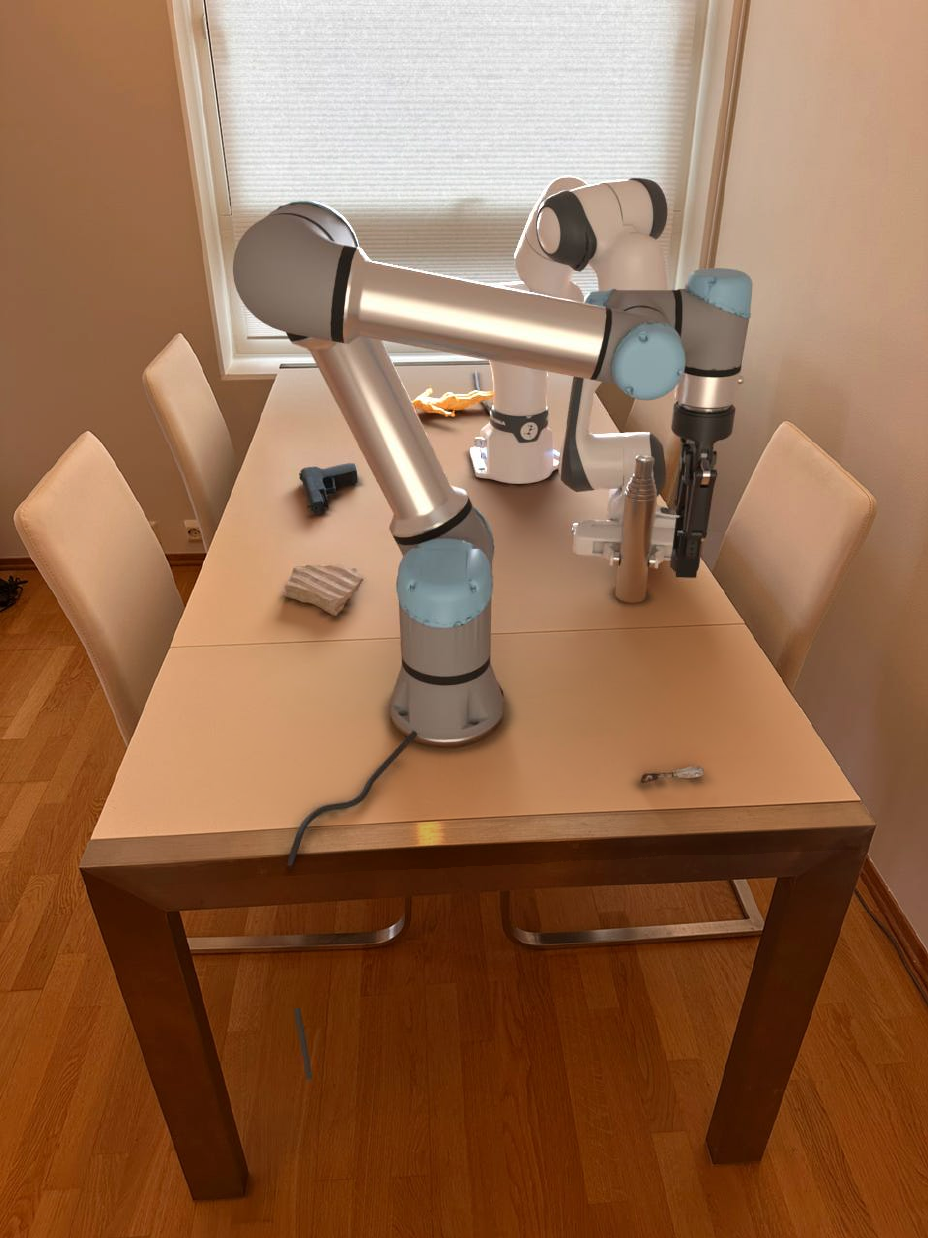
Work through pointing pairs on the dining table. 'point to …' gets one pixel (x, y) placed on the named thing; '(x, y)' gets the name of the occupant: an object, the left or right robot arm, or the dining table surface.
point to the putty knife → (674, 774)
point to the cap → (674, 559)
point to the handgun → (325, 483)
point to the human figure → (449, 401)
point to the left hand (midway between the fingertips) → (683, 568)
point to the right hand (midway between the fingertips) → (634, 563)
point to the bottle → (637, 532)
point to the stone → (323, 586)
